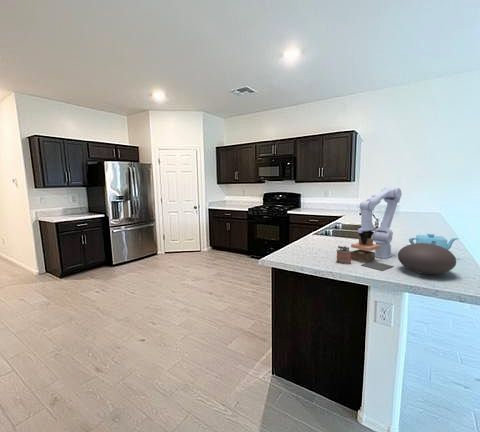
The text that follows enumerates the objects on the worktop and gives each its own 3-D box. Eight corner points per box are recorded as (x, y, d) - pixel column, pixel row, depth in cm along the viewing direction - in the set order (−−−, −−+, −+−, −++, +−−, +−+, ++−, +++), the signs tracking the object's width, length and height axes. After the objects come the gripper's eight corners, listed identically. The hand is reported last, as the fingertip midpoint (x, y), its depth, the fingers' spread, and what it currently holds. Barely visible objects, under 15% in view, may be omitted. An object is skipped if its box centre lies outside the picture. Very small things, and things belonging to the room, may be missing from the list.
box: (359, 256, 169) (359, 249, 169) (374, 259, 161) (374, 252, 161) (350, 258, 164) (350, 251, 163) (365, 262, 155) (365, 254, 155)
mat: (372, 261, 156) (372, 261, 156) (393, 266, 146) (393, 266, 146) (360, 265, 149) (360, 264, 149) (382, 271, 139) (382, 270, 139)
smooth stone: (390, 272, 136) (392, 244, 135) (404, 262, 154) (405, 237, 152) (451, 284, 119) (453, 252, 117) (458, 271, 136) (460, 243, 135)
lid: (362, 244, 166) (362, 235, 166) (380, 248, 157) (380, 238, 156) (351, 247, 160) (351, 237, 159) (369, 251, 150) (369, 241, 150)
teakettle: (405, 255, 169) (406, 232, 168) (427, 252, 175) (428, 230, 173) (434, 263, 151) (436, 238, 150) (458, 259, 157) (459, 235, 155)
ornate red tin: (351, 263, 154) (351, 246, 153) (350, 264, 152) (350, 247, 150) (336, 261, 159) (337, 245, 157) (335, 262, 156) (336, 246, 155)
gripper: (367, 219, 164) (366, 240, 165) (353, 221, 156) (352, 244, 157) (378, 220, 158) (377, 242, 159) (364, 222, 150) (363, 246, 151)
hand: (365, 243), depth 158 cm, fingers closed on lid, 3 cm apart
